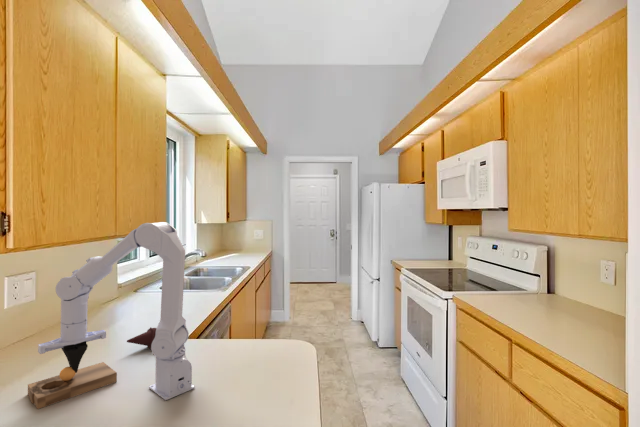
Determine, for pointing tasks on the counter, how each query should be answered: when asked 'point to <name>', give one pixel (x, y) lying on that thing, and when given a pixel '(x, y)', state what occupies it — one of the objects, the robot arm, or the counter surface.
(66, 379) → the ball
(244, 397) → the counter surface
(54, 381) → the board
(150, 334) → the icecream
